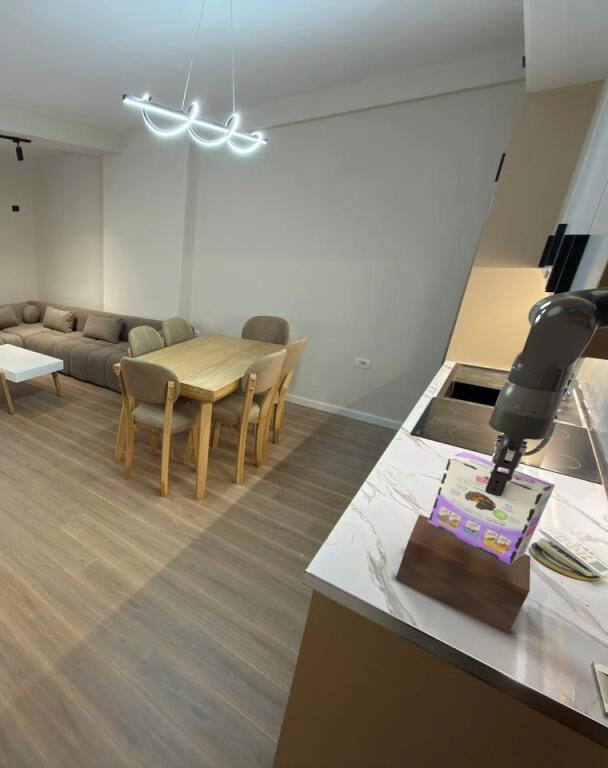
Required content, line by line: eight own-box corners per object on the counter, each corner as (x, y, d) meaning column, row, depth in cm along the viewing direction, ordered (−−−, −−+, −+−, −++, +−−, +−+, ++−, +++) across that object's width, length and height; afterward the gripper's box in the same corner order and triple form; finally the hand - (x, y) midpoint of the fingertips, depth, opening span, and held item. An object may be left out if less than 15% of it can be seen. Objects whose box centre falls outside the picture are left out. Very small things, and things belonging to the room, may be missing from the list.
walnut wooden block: (510, 597, 83) (530, 556, 79) (508, 634, 76) (529, 590, 72) (406, 551, 95) (419, 514, 92) (395, 579, 88) (408, 539, 84)
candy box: (524, 556, 76) (558, 484, 70) (509, 566, 74) (543, 493, 68) (441, 514, 88) (464, 449, 82) (426, 521, 85) (448, 456, 80)
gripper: (557, 427, 63) (520, 511, 69) (555, 402, 72) (522, 478, 78) (493, 413, 68) (463, 493, 74) (498, 392, 78) (471, 464, 83)
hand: (494, 485), depth 76 cm, fingers closed on candy box, 7 cm apart
